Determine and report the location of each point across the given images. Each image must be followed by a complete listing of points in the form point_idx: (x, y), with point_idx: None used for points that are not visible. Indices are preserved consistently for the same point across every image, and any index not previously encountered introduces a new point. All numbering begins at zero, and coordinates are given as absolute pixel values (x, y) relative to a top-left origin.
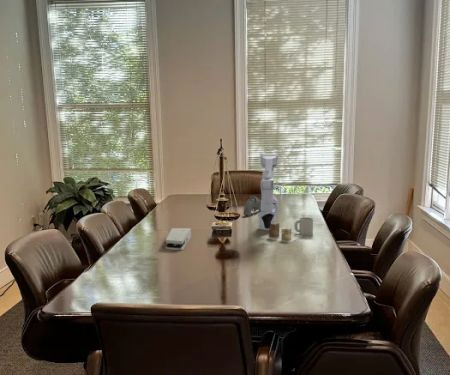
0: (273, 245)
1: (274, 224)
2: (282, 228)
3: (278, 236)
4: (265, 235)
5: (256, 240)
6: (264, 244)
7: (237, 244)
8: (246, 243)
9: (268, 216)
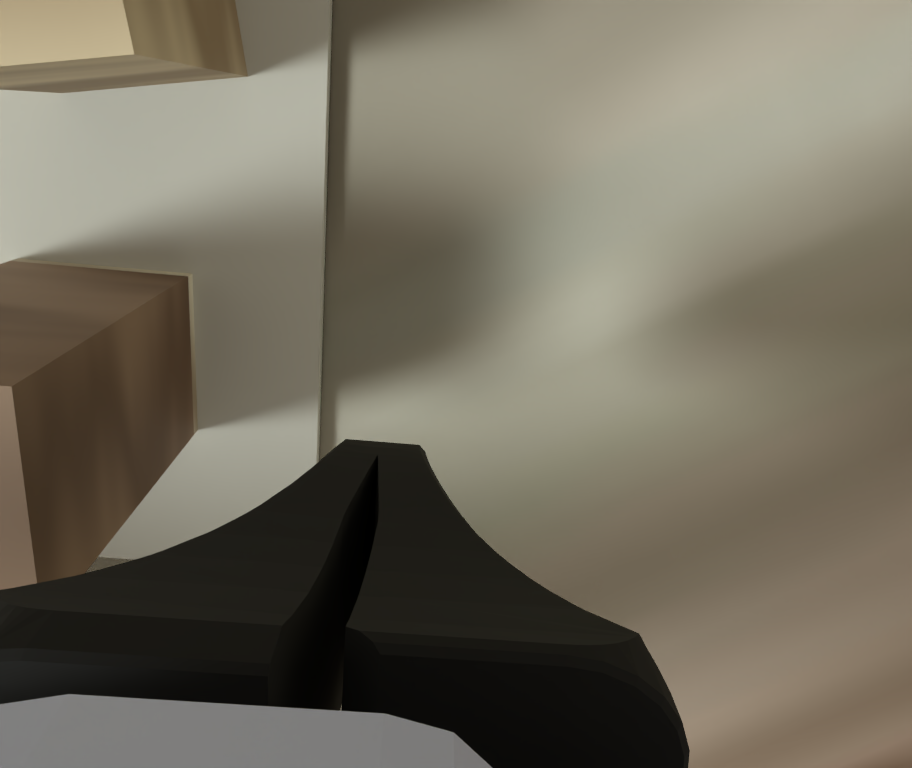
0: (694, 74)
1: (20, 423)
2: (62, 43)
3: (45, 265)
4: (120, 542)
5: (490, 539)
6: (693, 286)
7: (866, 675)
8: (754, 590)
9: (634, 745)
